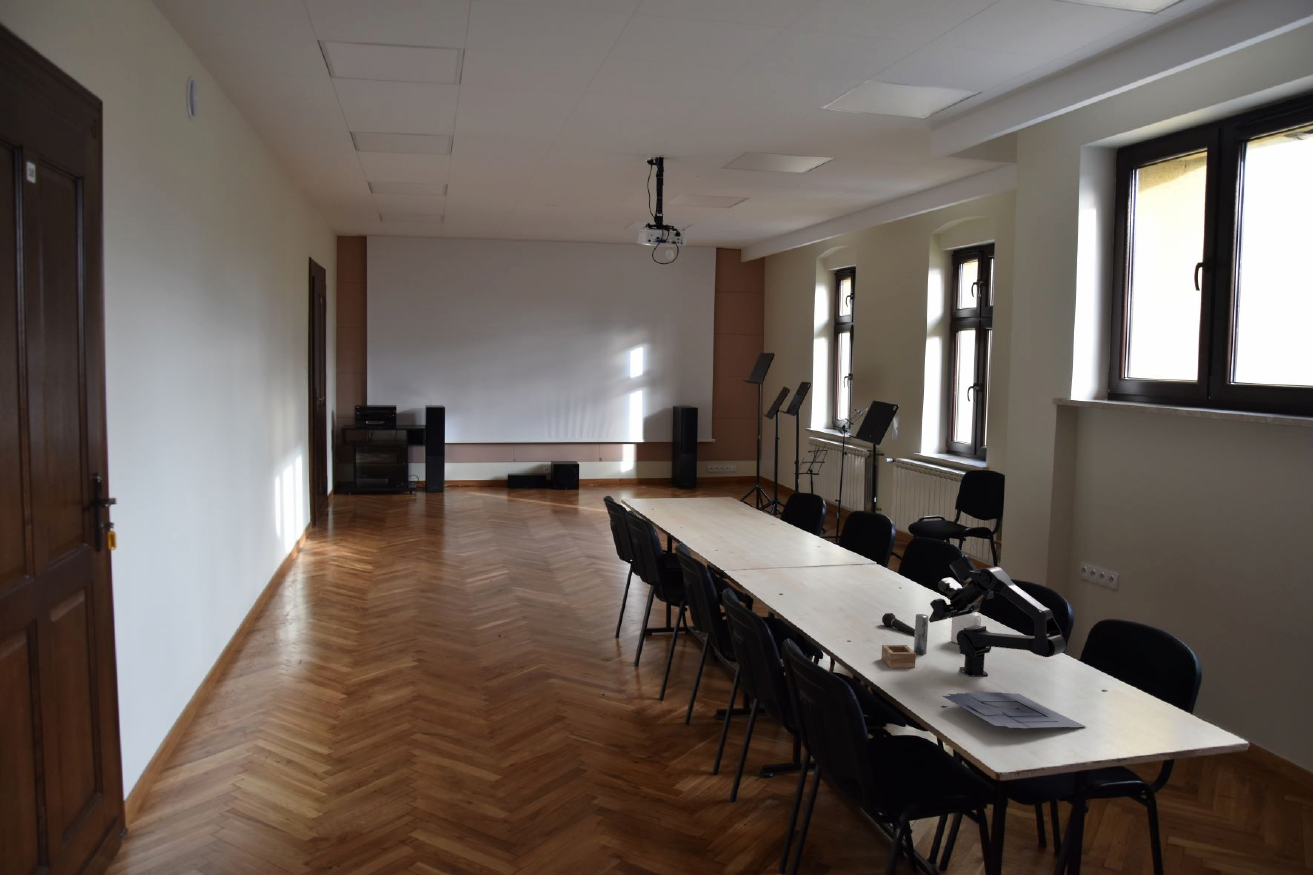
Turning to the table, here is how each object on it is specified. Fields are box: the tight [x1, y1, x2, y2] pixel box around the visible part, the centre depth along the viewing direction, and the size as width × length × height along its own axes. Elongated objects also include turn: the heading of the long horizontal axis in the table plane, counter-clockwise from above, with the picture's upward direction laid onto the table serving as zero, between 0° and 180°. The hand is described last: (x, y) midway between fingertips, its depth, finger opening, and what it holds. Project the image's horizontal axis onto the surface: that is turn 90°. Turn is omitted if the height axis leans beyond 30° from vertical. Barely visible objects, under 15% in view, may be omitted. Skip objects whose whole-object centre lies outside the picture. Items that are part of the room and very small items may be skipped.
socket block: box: [881, 644, 917, 669], centre depth 276 cm, size 8×8×4 cm
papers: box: [941, 692, 1087, 729], centre depth 236 cm, size 24×30×4 cm
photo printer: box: [950, 612, 982, 644], centre depth 295 cm, size 10×4×12 cm, turn 29°
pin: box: [913, 613, 930, 656], centre depth 286 cm, size 4×4×12 cm
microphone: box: [881, 612, 915, 637], centre depth 308 cm, size 5×5×19 cm
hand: (938, 618), depth 279 cm, fingers open, 9 cm apart
